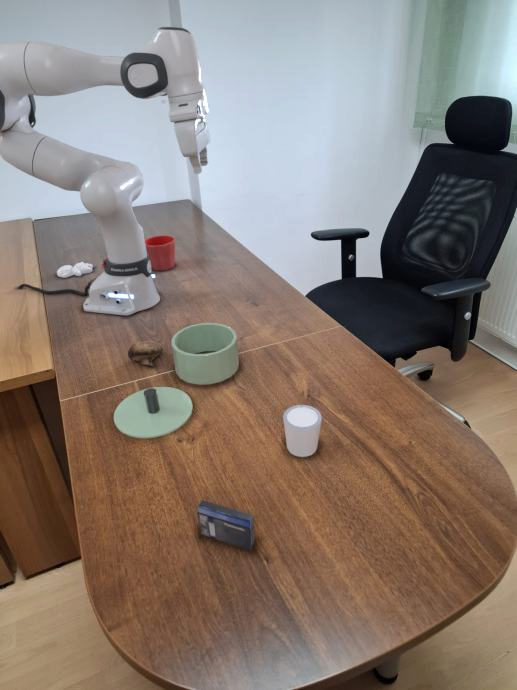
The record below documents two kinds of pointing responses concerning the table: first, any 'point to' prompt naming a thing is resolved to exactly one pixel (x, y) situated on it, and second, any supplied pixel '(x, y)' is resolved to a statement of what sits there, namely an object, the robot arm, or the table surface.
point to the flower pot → (161, 252)
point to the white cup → (302, 429)
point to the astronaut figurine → (74, 270)
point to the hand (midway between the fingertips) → (201, 169)
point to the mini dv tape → (226, 524)
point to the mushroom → (145, 352)
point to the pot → (205, 365)
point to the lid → (153, 412)
